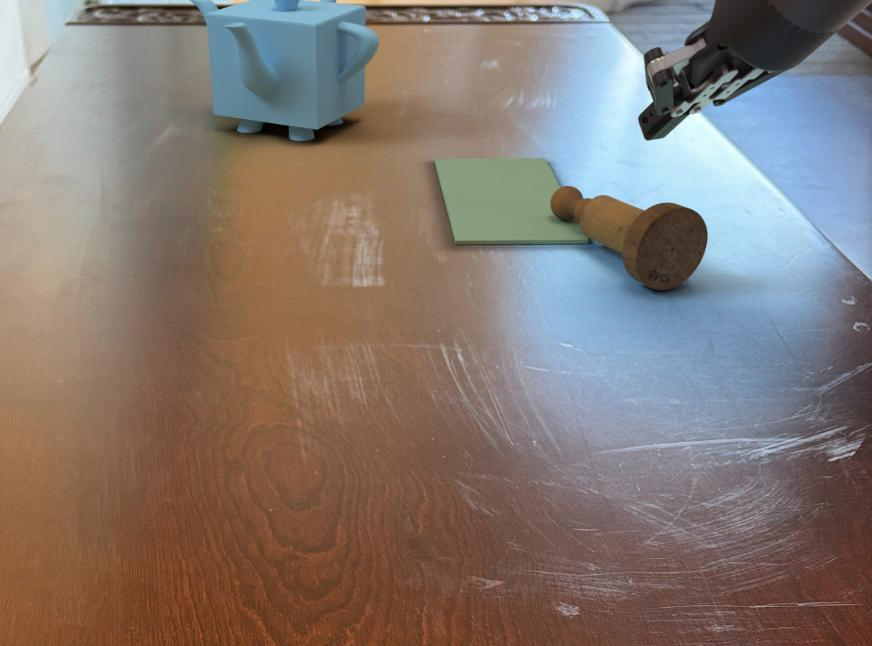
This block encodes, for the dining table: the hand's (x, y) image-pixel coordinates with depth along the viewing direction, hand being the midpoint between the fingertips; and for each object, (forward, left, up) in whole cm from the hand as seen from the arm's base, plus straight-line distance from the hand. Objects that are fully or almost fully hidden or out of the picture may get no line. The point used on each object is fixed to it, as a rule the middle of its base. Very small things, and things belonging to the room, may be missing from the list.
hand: (648, 129), depth 81 cm
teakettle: (+31, -46, -12) cm, 56 cm away
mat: (+8, -19, -12) cm, 24 cm away
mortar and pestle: (-3, +4, -8) cm, 10 cm away
